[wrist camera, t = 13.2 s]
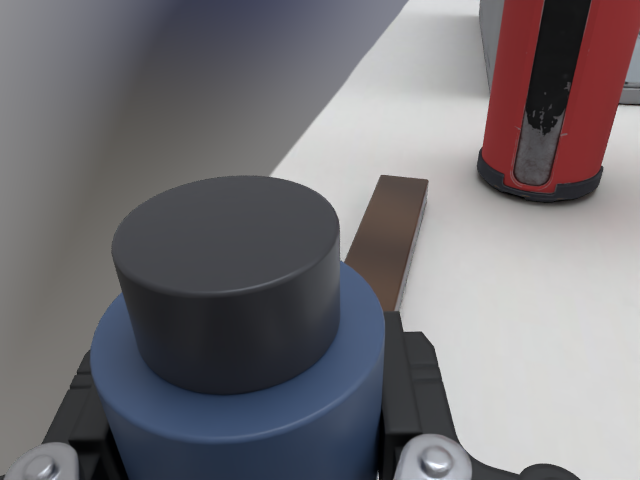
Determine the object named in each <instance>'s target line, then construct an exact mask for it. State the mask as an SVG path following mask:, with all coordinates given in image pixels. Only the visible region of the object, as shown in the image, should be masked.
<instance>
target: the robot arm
mask: <svg viewBox="0 0 640 480" xmlns="http://www.w3.org/2000/svg"><path fill="white" fill-rule="evenodd" d="M383 315H384V320H385V347H384V366H383V385H382V404H381V423H380V442H379V461H378V474H379V480H580V479H579V478H578V477H577V476H575V475H574V474H573V473H571V472H570V471H568V470H566V469H564V468H562V467H559V466H556V465H551V464H535V465H532V466H529V467H527V468H525V469H524V470H523V471H522V472H521V473H520V475H519V474H515V473H511V472H508V471H504V470H501V469H497V468H494V467H491V466H488V465H485V464H483V463H481V462H479V461H478V460H476V459H475V458H473V457H472V456H471V455H470V454H469V453H468V452H467V451H466V450H465V449H464V448H463V447H462V445H461V444H460V442H459V440H458V438H457V435H456V432H455V428H454V424H453V420H452V416H451V412H450V408H449V404H448V400H447V397H446V393H445V389H444V385H443V382H442V377H441V373H440V369H439V367H438V361H437V357H436V353H435V349H434V346H433V345H432V344H431V342H430V341H429V340H428V339H427V338H426V336H425V335H424V334H423V333H422V332H403V327H402V322H401V317H400V313H399V311H383ZM0 480H129V478H128V475H127V473H126V470H125V467H124V464H123V462H122V459H121V456H120V453H119V450H118V448H117V445H116V442H115V439H114V437H113V434H112V431H111V428H110V425H109V423H108V420H107V417H106V414H105V412H104V409H103V406H102V403H101V400H100V398H99V395H98V392H97V389H96V387H95V384H94V381H93V378H92V375H91V368H90V350H89V351H88V352H87V353H86V354H85V356H84V358H83V360H82V362H81V364H80V366H79V368H78V370H77V375H75V376H74V379H73V381H72V383H71V385H70V390H68V391H67V393H66V395H65V397H64V399H63V402H62V403H61V405H60V407H59V409H58V411H57V413H56V416H55V418H54V420H53V422H52V424H51V426H50V428H49V430H48V432H47V434H46V436H45V438H44V440H43V442H42V444H41V445H39V446H37V447H34V448H33V449H31V450H29V451H27V452H26V453H24V454H23V455H22V456H20V457H19V458H18V459H17V460H16V461H15V462H14V463H13V464H12V466H11V467H10V468H9V470H8V471H7V473H6V474H5V475H3V476H0Z"/></svg>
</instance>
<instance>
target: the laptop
mask: <svg viewBox="0 0 640 480" xmlns="http://www.w3.org/2000/svg"><path fill="white" fill-rule="evenodd" d="M503 7H504V0H480V9H479V18H480V25H481V32H482V39H483V46H484V54H485V61H486V68H487V75H488V82H489V89H490V94H491V87H492V81H493V74H494V67H495V61H496V54H497V47H498V41H499V34H500V27H501V20H502V14H503ZM619 103H623V104H640V30H639V33H638V37H637V40H636V44H635V47H634V51H633V55H632V58H631V62H630V65H629V69H628V72H627V76H626V79H625V83H624V86H623V90H622V93H621V97H620V100H619Z"/></svg>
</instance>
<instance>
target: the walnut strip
mask: <svg viewBox="0 0 640 480" xmlns="http://www.w3.org/2000/svg"><path fill="white" fill-rule="evenodd" d="M428 182H429V181H428V180H427V179H417V178H407V177H398V176H388V175H381V176H380V178H379V181H378V183H377V185H376V188H375V190H374V193H373V195H372V197H371V200H370V202H369V204H368V207H367V209H366V212H365V214H364V216H363V219H362V221H361V223H360V226H359V228H358V231H357V233H356V235H355V238H354V240H353V242H352V245H351V247H350V250H349V252H348V254H347V257H346V259H345V261H344V263H345V264H347V265H348V266H350V267H351V268H353V269H354V270H355V271H356V272H357V273H359V274H360V275H361V276H362V277H363V278H364V279H365V280H366V282H367V283H368V284H369V285H370V286H371V288H372V289H373V291H374V293H375V294H376V296H377V298H378V300H379V302H380V305H381V307H382V310H383V311H399V309H400V305H401V301H402V297H403V293H404V289H405V285H406V281H407V277H408V273H409V269H410V265H411V261H412V257H413V253H414V249H415V245H416V241H417V237H418V233H419V229H420V225H421V221H422V217H423V213H424V209H425V205H426V201H427V192H428Z"/></svg>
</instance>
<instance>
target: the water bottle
mask: <svg viewBox="0 0 640 480" xmlns="http://www.w3.org/2000/svg"><path fill="white" fill-rule="evenodd" d="M112 257H113V261H114V264H115V268H116V271H117V275H118V279H119V282H120V286H121V289H122V293H121V294H120V295H118V297H117V298H116V299H115V300H114V301H113V302H112V304H111V305H110V306H109V307H108V308H107V310H106V312H105V313H104V315H103V316H102V318H101V320H100V321H99V324H98V326H97V328H96V330H95V333H94V337H93V341H92V345H91V349H90V368H91V375H92V378H93V381H94V384H95V387H96V389H97V392H98V395H99V398H100V400H101V403H102V406H103V409H104V412H105V414H106V417H107V420H108V423H109V425H110V428H111V431H112V434H113V437H114V439H115V442H116V445H117V448H118V450H119V453H120V456H121V459H122V462H123V464H124V467H125V470H126V473H127V475H128V478H129V480H378V461H379V442H380V423H381V404H382V385H383V366H384V347H385V320H384V315H383V310H382V307H381V305H380V302H379V300H378V298H377V296H376V294H375V293H374V291H373V289H372V288H371V286H370V285H369V284H368V283H367V282H366V280H365V279H364V278H363V277H362V276H361V275H360V274H359V273H357V272H356V271H355V270H354V269H353V268H351V267H350V266H348V265H347V264H345V263H344V262H342V261H340V225H339V219H338V217H337V214H336V212H335V210H334V208H333V207H332V205H331V204H330V203H329V202H328V201H327V200H326V199H325V198H324V197H323V196H322V195H320V194H319V193H318V192H316V191H314V190H312V189H310V188H308V187H306V186H303V185H301V184H298V183H295V182H292V181H288V180H284V179H279V178H273V177H264V176H227V177H217V178H211V179H205V180H200V181H196V182H192V183H188V184H185V185H181V186H178V187H176V188H172V189H170V190H168V191H165V192H163V193H160V194H158V195H156V196H154V197H152V198H150V199H149V200H147V201H145V202H144V203H142V204H141V205H139V206H138V207H137V208H135V209H134V210H133V211H132V212H130V213H129V214H128V216H126V217H125V218H124V219H123V221H122V222H121V223H120V225H119V226H118V228H117V230H116V232H115V234H114V238H113V241H112Z"/></svg>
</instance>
